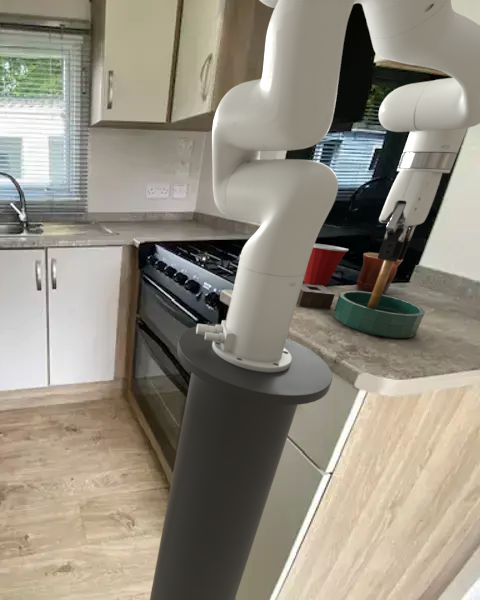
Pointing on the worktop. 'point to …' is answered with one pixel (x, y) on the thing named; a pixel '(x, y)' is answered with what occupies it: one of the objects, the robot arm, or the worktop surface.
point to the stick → (380, 283)
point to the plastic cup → (323, 264)
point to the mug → (374, 272)
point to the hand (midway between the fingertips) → (390, 258)
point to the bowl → (379, 315)
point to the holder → (315, 296)
